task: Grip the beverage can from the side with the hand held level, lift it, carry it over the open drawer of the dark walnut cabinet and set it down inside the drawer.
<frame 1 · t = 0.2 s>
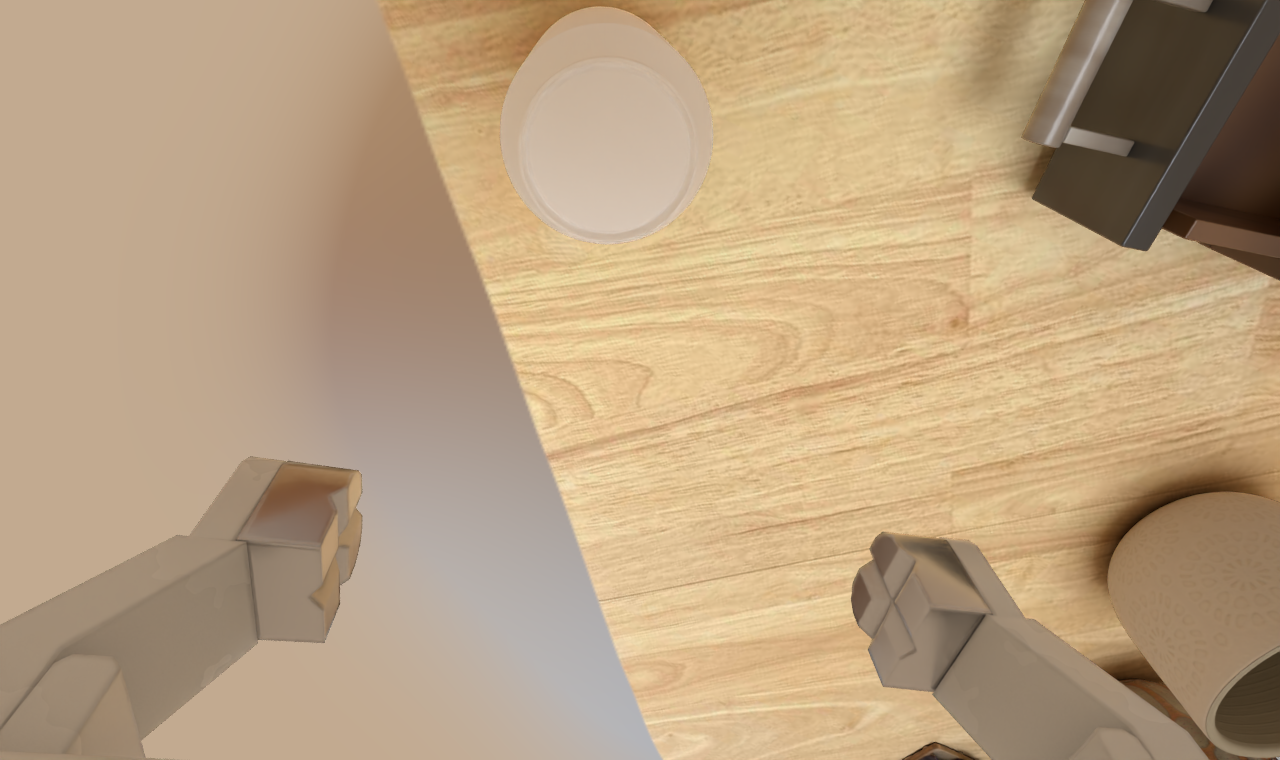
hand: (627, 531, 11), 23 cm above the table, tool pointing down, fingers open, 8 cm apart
planter: (1174, 539, 45), on the table
vase: (1113, 702, 55), on the table
beverage can: (602, 87, 29), on the table
drawer: (1241, 98, 27), point 4 cm above the table, slide at 9.0 cm
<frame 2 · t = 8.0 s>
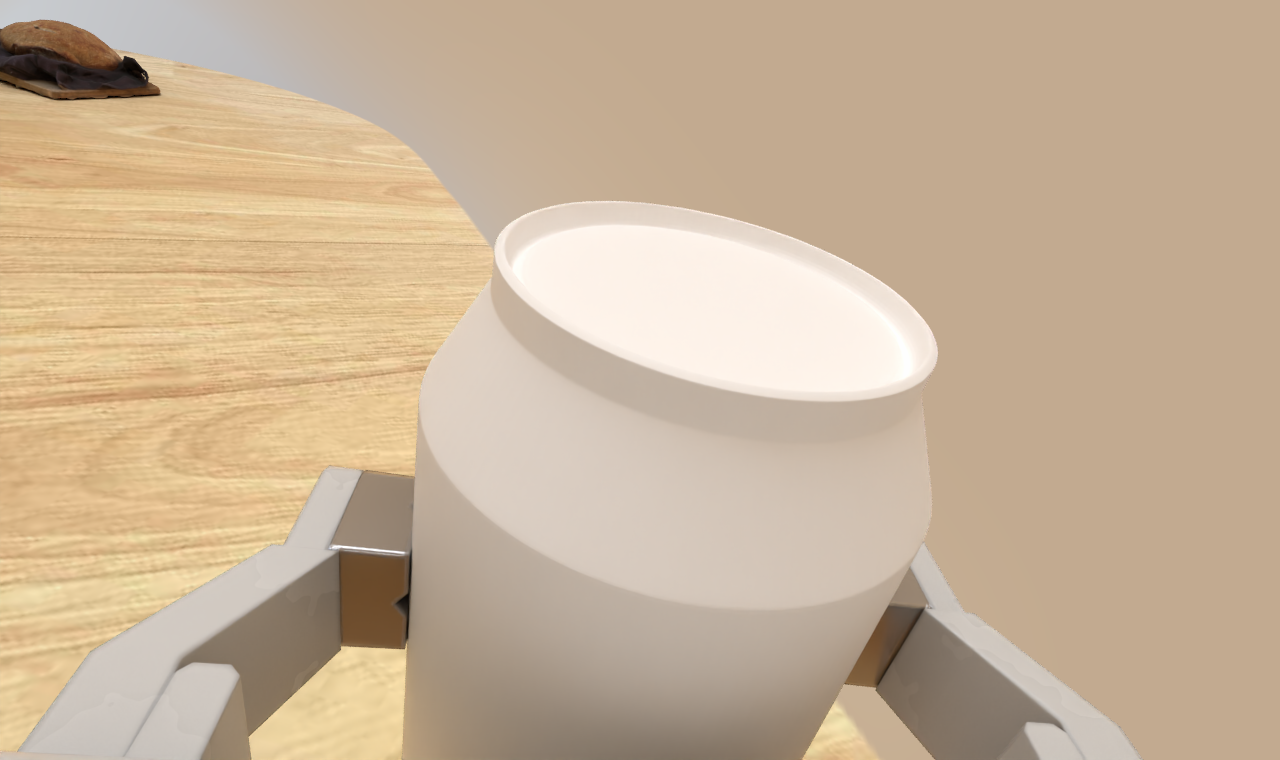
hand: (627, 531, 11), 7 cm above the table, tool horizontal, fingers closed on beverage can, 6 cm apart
bread roll: (62, 81, 50), on the table
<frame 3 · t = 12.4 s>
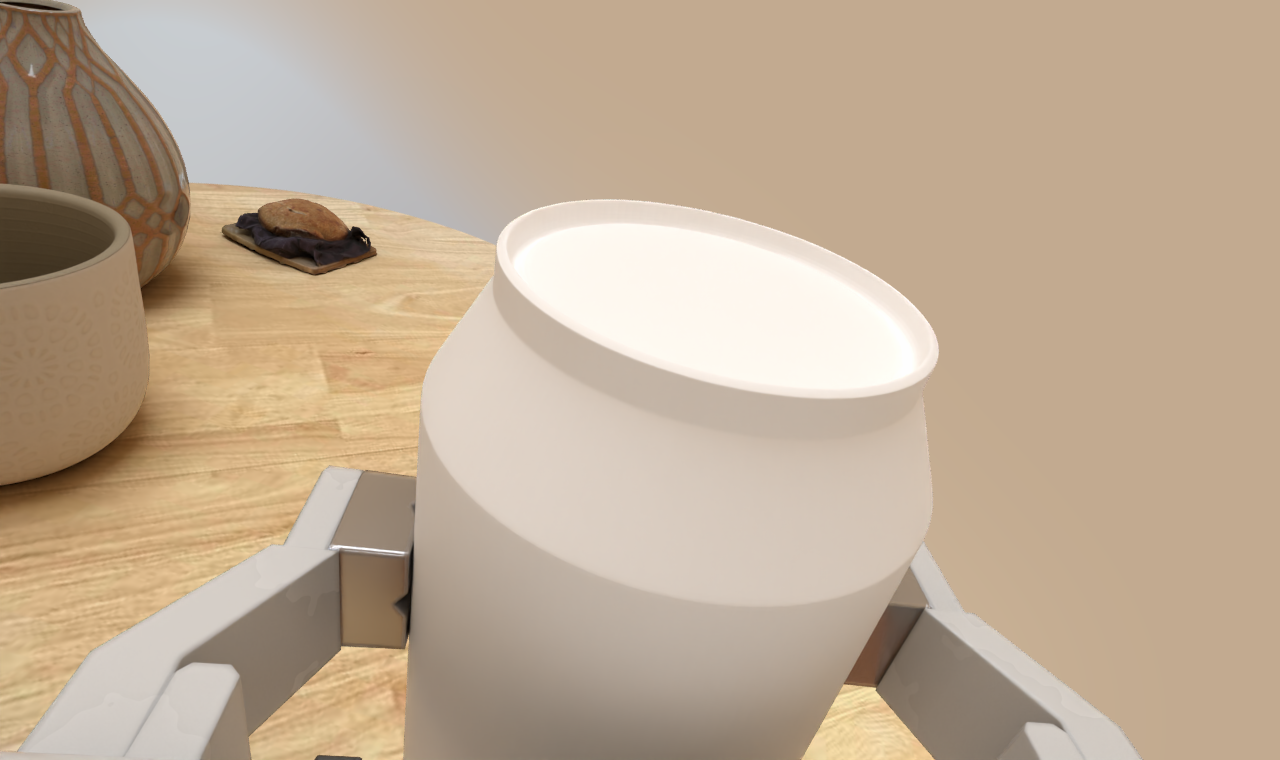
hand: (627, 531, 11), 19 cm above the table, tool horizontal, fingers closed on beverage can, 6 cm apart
planter: (15, 438, 35), on the table
vase: (90, 283, 48), on the table
bread roll: (301, 246, 60), on the table
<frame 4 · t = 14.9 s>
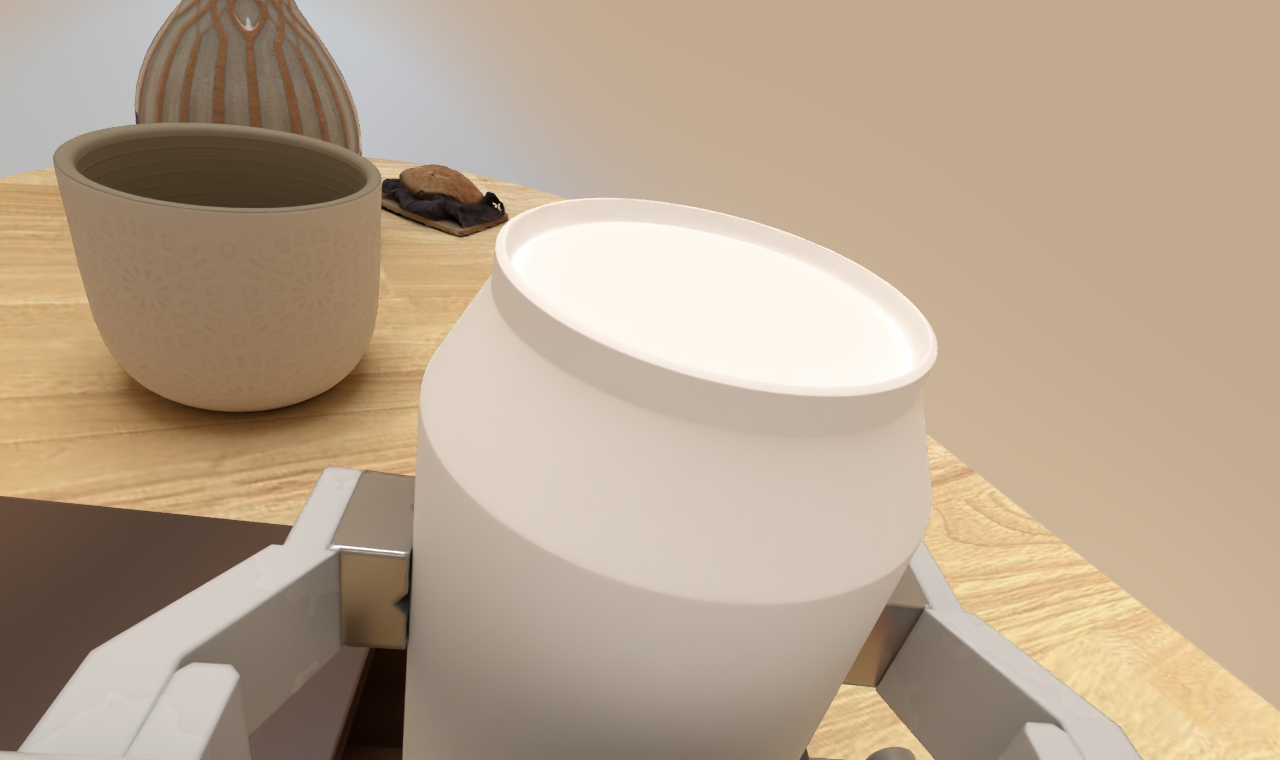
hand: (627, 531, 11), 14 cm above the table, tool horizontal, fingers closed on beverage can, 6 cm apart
planter: (254, 372, 36), on the table
vase: (264, 239, 50), on the table
bread roll: (437, 212, 61), on the table
when the fingers open (9 cm above the table, at t = 17.0 s): beverage can stays where it is, resting on drawer.
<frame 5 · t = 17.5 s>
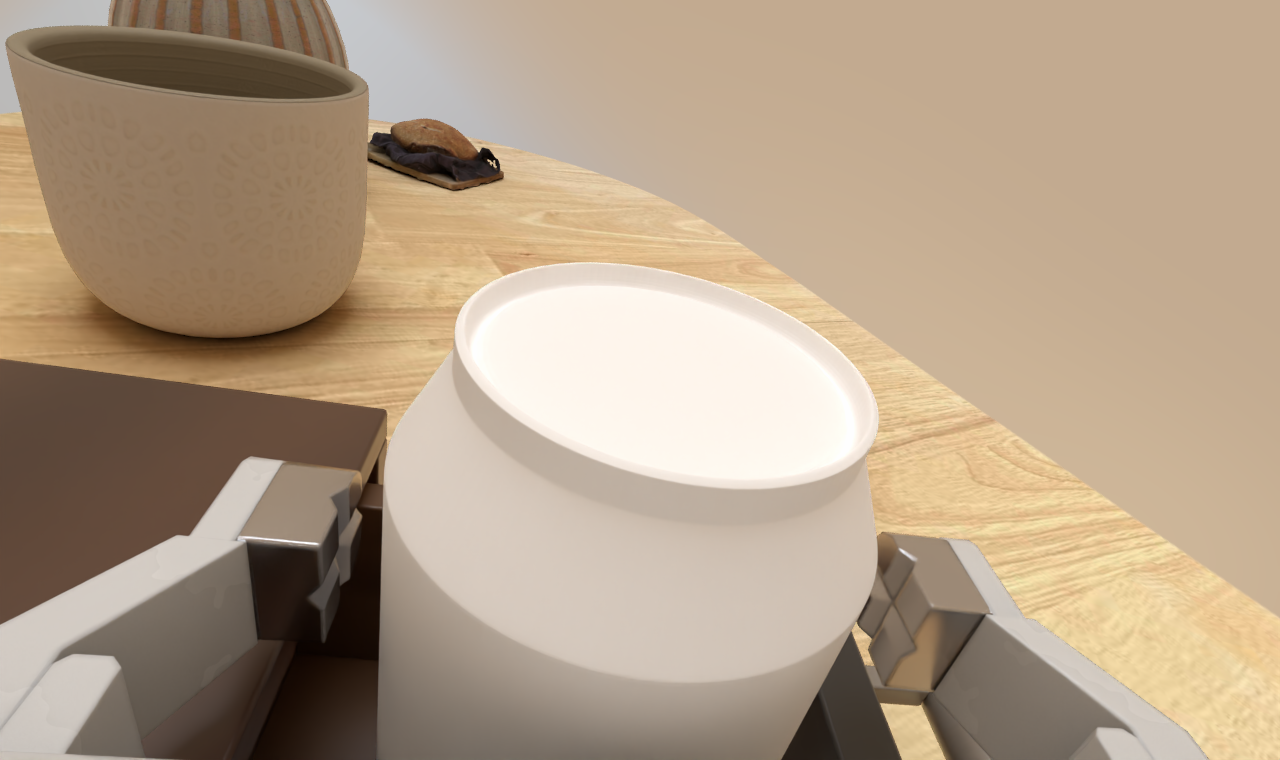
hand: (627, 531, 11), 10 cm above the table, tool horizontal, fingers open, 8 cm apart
planter: (231, 303, 34), on the table
vase: (247, 185, 47), on the table
bread roll: (430, 168, 59), on the table
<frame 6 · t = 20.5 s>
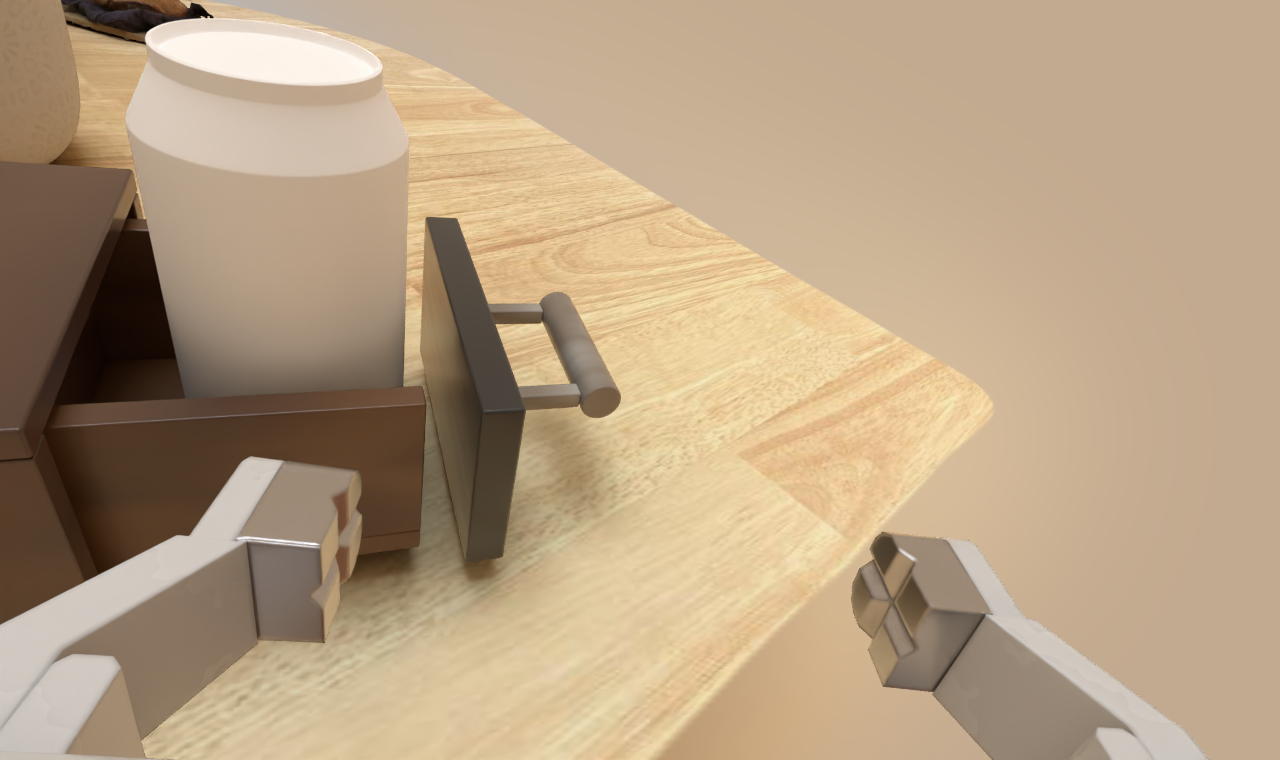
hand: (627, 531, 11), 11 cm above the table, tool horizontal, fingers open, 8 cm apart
beverage can: (304, 433, 23), point 2 cm above the table, touching drawer
bread roll: (137, 28, 57), on the table
drawer: (350, 378, 22), point 4 cm above the table, slide at 9.0 cm, touching beverage can
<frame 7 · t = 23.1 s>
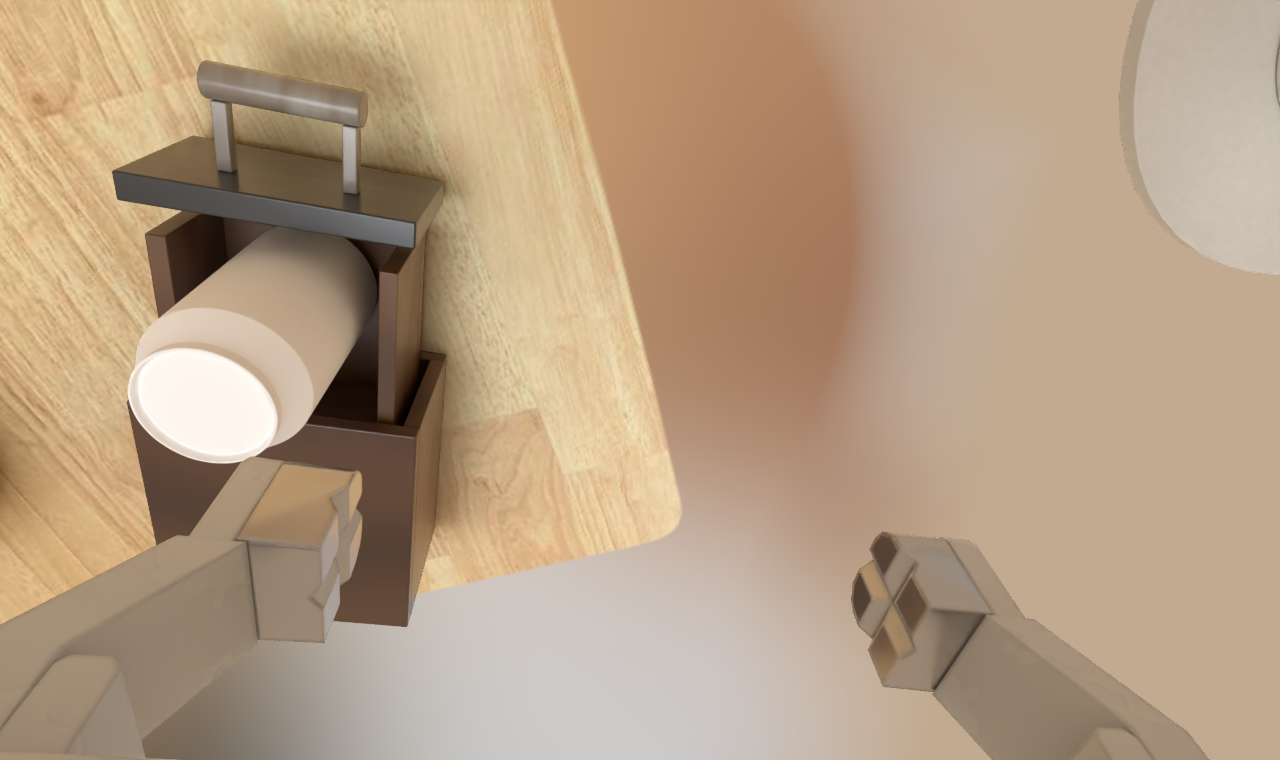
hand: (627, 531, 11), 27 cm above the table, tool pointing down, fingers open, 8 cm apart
beverage can: (320, 275, 35), point 2 cm above the table, touching drawer
cabinet: (334, 435, 42), on the table
drawer: (301, 264, 32), point 4 cm above the table, slide at 9.0 cm, touching beverage can
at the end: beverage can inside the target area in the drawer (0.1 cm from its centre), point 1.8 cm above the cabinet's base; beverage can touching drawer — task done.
